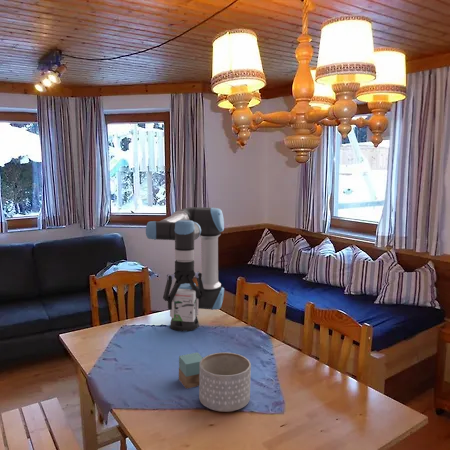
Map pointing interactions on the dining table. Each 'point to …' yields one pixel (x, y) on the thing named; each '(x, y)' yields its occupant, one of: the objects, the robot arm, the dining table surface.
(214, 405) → the planter
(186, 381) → the tower bottom block
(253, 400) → the dining table surface
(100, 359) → the dining table surface
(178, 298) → the ink box
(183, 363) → the tower top block
